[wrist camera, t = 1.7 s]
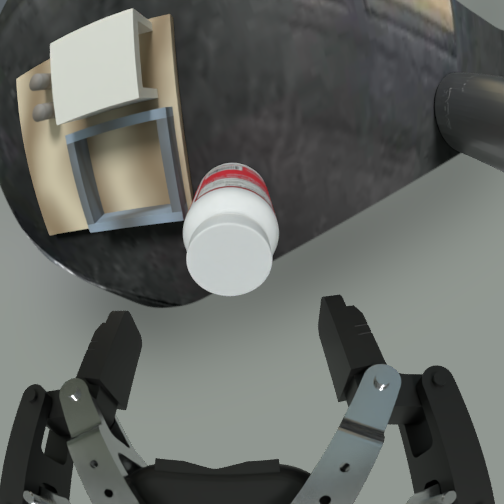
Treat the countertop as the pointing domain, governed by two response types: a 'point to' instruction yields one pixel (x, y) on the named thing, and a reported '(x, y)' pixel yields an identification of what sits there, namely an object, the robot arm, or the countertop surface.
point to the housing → (99, 67)
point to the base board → (110, 149)
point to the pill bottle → (230, 231)
